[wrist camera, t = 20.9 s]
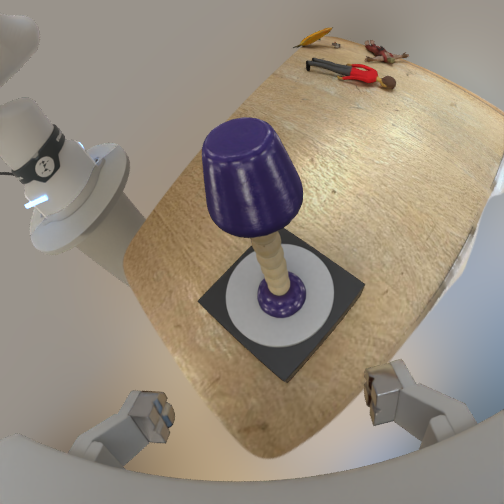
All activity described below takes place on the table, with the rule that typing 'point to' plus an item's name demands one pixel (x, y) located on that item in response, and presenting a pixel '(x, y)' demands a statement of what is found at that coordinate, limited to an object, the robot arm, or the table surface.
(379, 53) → the figurine
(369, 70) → the person figure
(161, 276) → the table surface
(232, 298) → the kitchen scale
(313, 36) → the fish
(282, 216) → the toy lamp
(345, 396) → the table surface
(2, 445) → the robot arm
